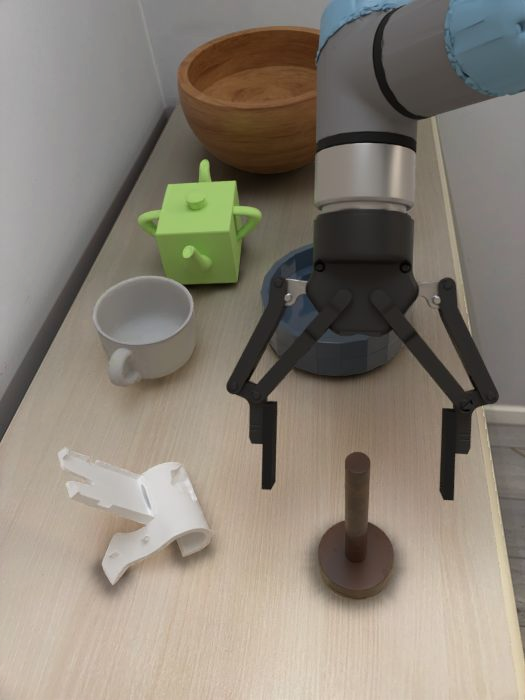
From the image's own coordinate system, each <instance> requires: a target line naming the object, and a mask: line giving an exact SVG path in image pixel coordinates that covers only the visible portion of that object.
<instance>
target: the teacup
mask: <svg viewBox="0 0 525 700" xmlns="http://www.w3.org/2000/svg"><path fill="white" fill-rule="evenodd" d="M194 310H195V304H194V298H193V296H192V293H190V291H189V290H188V288H187V287H186V286H184V284H182V285H181V284H180V283H178V282H176V281H174V280H172V279H169V278H166V276H162V275H141V276H140V275H139V276H135V277H130V278H127V279H124V280H122V281H119V282H118V283H115V284H114V285H112V286H111V287H109V288H107V290H105V291H104V292H103V293H102V294H101V295H100V296H99V297H98V299H97V300H96V302H95V303H94V307H93V310H92V315H91V316H92V317H91V319H92V322H93V326H94V328H95V330H96V332H97V334H98V338H99V341H100V343H101V346H102V350H103V351H104V353H105V356H106V358H107V360H108V361H109V362H108V369H107V370H108V371H107V374H108V379H109V381H110V383H111V384H112V385H114V386H116V387H119V388H120V387H121V388H127V387H130V386H131V385H133V384H134V383H137V382H138V383H139V382H140V381H141V380H148V379H150V380H151V379H158V378H161V377H165V376H168V375H171V374H172V373H174V372H176V371H178V370H179V369H180V368H181V367H183V366H184V365H185V364H186V363H187V362H188V360H189V359H190V357H191V356H192V354H193V352H194V349H195V347H196V341H197V330H196V329H197V328H196V319H195V318H196V317H195V311H194Z"/></svg>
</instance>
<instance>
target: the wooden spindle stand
mask: <svg viewBox="0 0 525 700" xmlns="http://www.w3.org/2000/svg"><path fill="white" fill-rule="evenodd" d="M371 462H372V461H371V459H370V457H369V456H368V455H367V454H366V453H365V452H362V451H353V452H350V453H349V454H348V455H346V457H345V459H344V520H341V521H339V522H337V523H335V524H333V525H332V526H331V527H329V528H328V529H327V530H326V531H325V532H324V534H323V535H322V536H321V538H320V541H319V544H318V547H317V548H318V549H317V559H318V569H319V570H318V571H319V573H320V576H321V579H322V580H323V582H324V583H325V584H326V586H327V587H328V588H329V589H330V590H332V591H333V592H334V593H335V594H337V595H339V596H340V597H343V598H347V599H350V600H365V599H370V598H371V597H374V596H376V595H377V594H379V593H380V592H382V591H383V590H384V589H385V588H386V587H387V586H388V584H389V582H390V580H391V578H392V575H393V569H394V561H395V553H394V548H393V544H392V542H391V540H390V538H389V537H388V535H387V534H386V533H385V532H384V530H383V529H381V528H380V527H379V526H377V525H376V524H374V523H373V522H369V510H370V509H369V508H370V489H371V488H370V487H371V486H370V485H371V467H372V465H371Z"/></svg>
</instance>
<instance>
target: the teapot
mask: <svg viewBox="0 0 525 700" xmlns="http://www.w3.org/2000/svg"><path fill="white" fill-rule="evenodd" d="M262 215H263V214H262V212H261V210H260V209H258V208H256V207H253V206H247V205H245V206H244V205H240V200H239V192H238V186H237V180H221V181H220V180H219V181H212V178H211V173H210V161H209V160H208V159H206V158H205V159H202V160H201V161H200V163H199V168H198V182H186V183H168V184H167V185H166V190H165V193H164V197H163V201H162V205H161V209H155V210H150V211H147V212H144V213H142V214H141V215H139V217H138V218H137V224H138V226H139V227H140V228H141V230H143V231H144V232H145V233H146V234H148V235H150V236H151V237H153V238H155V239H156V244H157V247H158V251H159V256H160V259H161V263H162V267H163V270H164V276H165V277H166V278H169V279H172V280H174V281H176V282H178V283H180V284H181V285H200V284H201V285H204V284H205V285H206V284H207V285H208V284H230V283H231V284H232V283H233V284H234V283H238V280H239V272H240V262H241V253H242V244H243V239H244V238H245V237H246V236H247V235H249V234H250V233H251V232H252V231H254V230H255V229H256V228H257V227H258V225H259V224H260V223H261V221H262V218H263V216H262ZM242 217H247V219H246V221H245V223H244V225H243V222H242ZM156 220H158V221H157V225H156V224H155V223H154V222H153V221H156Z"/></svg>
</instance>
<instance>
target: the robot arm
mask: <svg viewBox="0 0 525 700" xmlns="http://www.w3.org/2000/svg"><path fill="white" fill-rule="evenodd" d="M319 30H320V37H319V49H318V51H317V58H316V69H317V111H316V155H315V159H314V193H313V194H314V196H313V197H314V198H313V199H314V200H313V201H314V202H313V205H314V207H315V208H316V209H317V210H318V211H321V213H320V214H318V215H317V216H316V218H315V219H314V220H313V241H312V243H313V269H312V274H311V276H310V278H309V280H308V281H301V280H293V279H287V278H285V277H283V276H280V275H277V276H275V277H273V279H272V280H271V285H270V292H269V300H268V305H267V307H266V309H265V311H264V313H263V312H262V314H261V316H260V319H259V320H258V322H257V324H256V326H255V328H254V330H253V332H252V334H251V336H250V338H249V340H248V342H247V343H246V345H245V348H243V349H244V350H243V351H242V353H241V355H240V357H239V359H238V361H237V362H236V365H235V366H234V368H233V371H232V372H231V374H230V376H229V378H228V380H227V382H226V384H225V387H226V388H225V389H226V391H227V393H229V394H230V395H235V396H238V397H240V398H242V399H244V400H246V401H247V403H248V405H249V415H248V416H249V418H248V419H249V421H248V423H249V424H248V430H249V431H248V438H249V441H250V444H251V445H261V447H262V448H261V487H260V488H261V490H263V491H264V490H265V491H266V490H267V491H272V489H273V487H274V486H275V484H276V482H277V481H276V480H277V445H278V444H277V443H278V441H277V436H278V401H274V400H268V399H269V398H268V397H269V396H270V395H271V394H272V392H274V390H275V389H276V388H277V387H278V386H279V385H280V384H281V383H282V381H283V380H284V379H285V378H286V377H287V376H288V375H289V373H291V371H292V370H293V369H294V368H296V367H295V366H296V364H297V363H298V362H299V361H300V360H301V359H302V358H303V357H304V355H305V354H306V353H307V352H308V351H309V350H310V349H311V348H312V346H313V345H314V344H315V343H316V342H317V341H318V340H319V339H320V338H321V337H322V336H323V334H324V333H325V332H326V331H327V330H328V329H330V330H331V331H332V332H333V333H335V334H337V335H339V336H352V335H356V334H364V335H367V336H370V337H381V336H384V335H386V334H388V333H389V332H391V331H392V330H393V331H394V332H395V333H396V335H397V336H398V337H399V338H400V340H401V341H402V342H403V343H404V346H405V347H406V348H407V349H408V351H409V352H410V353H411V354H412V355H413V357H414V358H415V359H416V361H417V362H418V363H419V364H420V365H421V367H422V368H423V369H424V370H425V372H426V373H427V374H428V375H429V376H430V378H432V380H433V381H434V383H436V385H437V387H439V389H440V390H441V391H442V392H443V393H444V395H445V396H446V398H448V400H449V401H450V402H451V404H452V407H442V408H441V429H440V431H441V433H440V459H439V460H440V461H439V463H440V464H439V489H438V491H439V494H440V497H441V498H442V500H443V501H451V502H454V501H455V482H456V481H455V479H456V478H455V476H456V455H468V454H469V452H470V451H471V448H472V447H471V446H472V445H471V444H472V421H473V419H472V417H473V413H474V411H475V410H476V409H478V408H480V407H484V406H487V405H494V404H497V402H498V401H499V399H500V394H499V391H498V389H497V386H496V385H495V382H494V381H493V378H492V376H491V374H490V372H489V370H488V368H487V366H486V364H485V362H484V359H483V357H482V355H481V353H480V351H479V349H478V347H477V345H476V343H475V341H474V339H473V336H472V334H471V332H470V330H469V328H468V325H467V324H466V322H465V319H464V317H463V315H462V314H461V310H460V309H459V305H458V293H457V292H458V291H457V290H458V289H457V283H456V281H455V279H453V278H452V277H448V276H447V277H443V278H441V279H440V280H430V281H422V282H421V281H420V282H417V280H416V278H415V275H414V238H415V220H414V219H413V218H412V215H410V214H409V213H407V212H408V211H409V210H411V209H412V208H413V207H414V206H415V204H416V179H417V178H416V177H417V145H418V144H417V143H418V142H417V138H418V124H419V123H418V122H419V121H421V120H425V119H429V118H433V117H435V116H438V115H441V114H445V113H448V112H452V111H454V110H458V109H462V108H465V107H469V106H472V105H475V104H478V103H482V102H483V103H484V102H486V101H489V100H493V99H496V98H500V97H505V96H507V95H508V96H515V95H517V94H520V93H524V92H525V0H330V1H329V2H328V3H327V4H326V6H325V7H324V10H323V11H322V14H321V17H320V24H319ZM303 294H306V295H307V297H308V299H309V300H310V302H311V303H312V305H313V306H314V308H315V309H316V311H317V312H318V313H319V314H318V315H317V316H316V317H315V318H314V320H313V321H312V322H311V323H310V324H309V325H308V326H307V327H306V329H305V330H304V331H303V332H302V334H301V335H300V336H299V337H298V338H297V339H296V340H295V341H294V343H293V344H292V345H291V346H290V347H289V348H288V349H287V351H286V352H285V353H284V354H283V355H282V356H281V357H280V356H279V358H278V359H277V361H275V363H274V364H273V365H272V366H271V367H270V368H269V370H267V372H265V374H264V375H263V376H262V377H261V379H260V380H259V381H258V382H257V383H256V382H253V381H252V380H251V379H252V376H253V375H254V373H255V371H256V368H257V367H258V366H259V363H260V361H261V359H262V358H263V356H264V354H265V352H266V350H267V348H268V347H269V344H270V343H269V342H270V340H271V338H272V336H273V335H274V333H275V331H276V329H277V327H278V325H279V323H280V321H281V319H282V317H283V315H284V313H285V310H286V307H287V306H292V305H294V304H295V303H296V302H297V299H298V298H299V296H301V295H303ZM418 297H422V298H423V299H425V301H426V303H427V305H428V307H429V308H430V309H434V310H437V311H438V315H439V318H440V320H441V323H442V324H443V326H444V329H445V330H446V333H447V335H448V337H449V340H450V341H451V344H452V346H453V348H454V350H455V352H456V354H457V356H458V359H459V361H460V362H461V365H462V367H463V369H464V371H465V373H466V375H467V378H468V379H469V382H470V384H471V385H472V389H468V390H465V389H464V388H463V386H461V384H460V383H459V382H458V381H457V379H456V378H455V377H454V375H453V374H451V372H450V371H449V370H448V368H447V366H445V365H444V363H443V362H442V361H441V360H440V358H439V357H438V356H437V355H436V354H435V352H434V351H433V350H432V349H431V347H430V346H429V345H428V344H427V343H426V341H425V340H424V339H423V337H421V335H420V334H419V333H418V331H417V330H416V329H415V327H414V326H413V325H412V323H411V324H410V323H409V321H408V320H407V319H406V318H405V317H404V314H405V313H406V312H407V311H408V309H409V308H410V307H411V305H412V304H413V305H414V303H415V302H416V301H417V299H418Z"/></svg>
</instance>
